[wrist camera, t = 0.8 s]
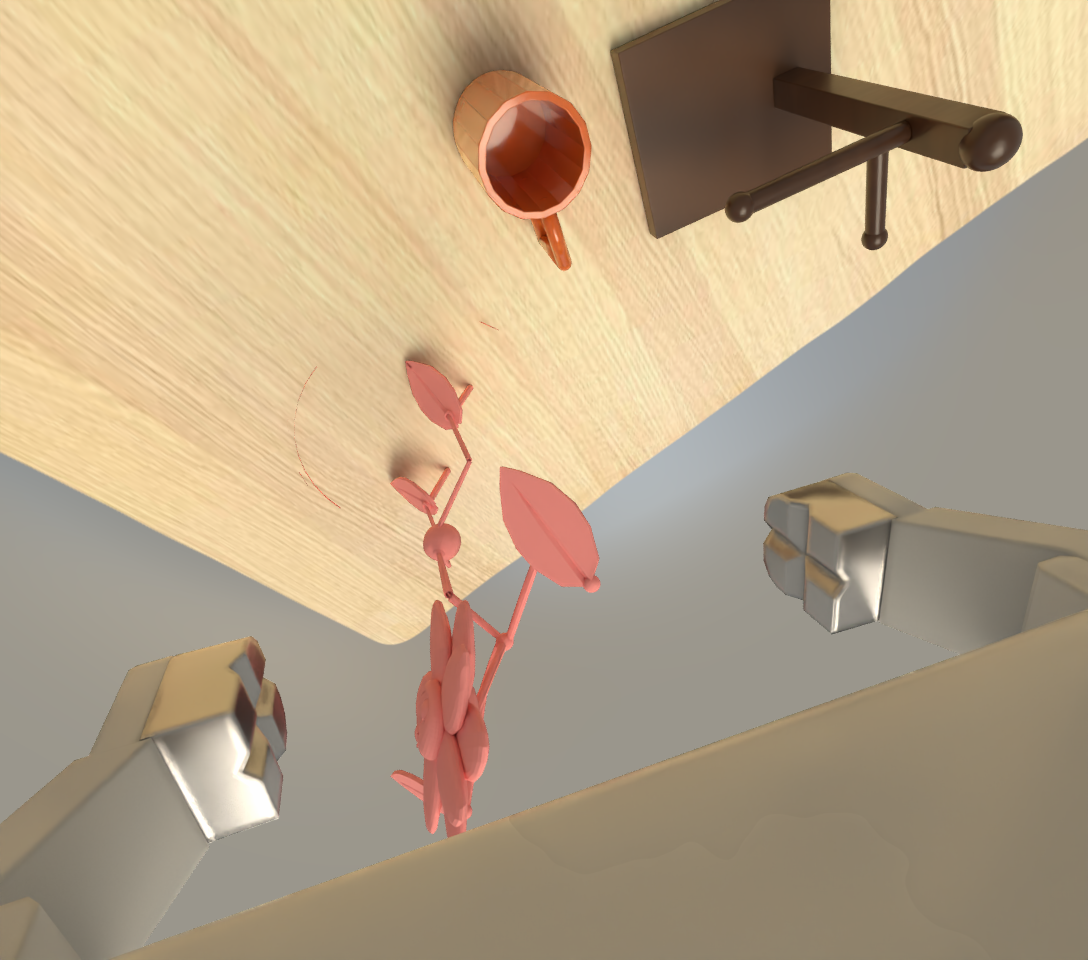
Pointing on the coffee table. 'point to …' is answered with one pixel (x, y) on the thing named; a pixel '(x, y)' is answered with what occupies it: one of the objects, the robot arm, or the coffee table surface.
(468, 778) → the flower sculpture
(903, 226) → the coffee table surface
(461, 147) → the mug
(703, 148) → the mug tree
